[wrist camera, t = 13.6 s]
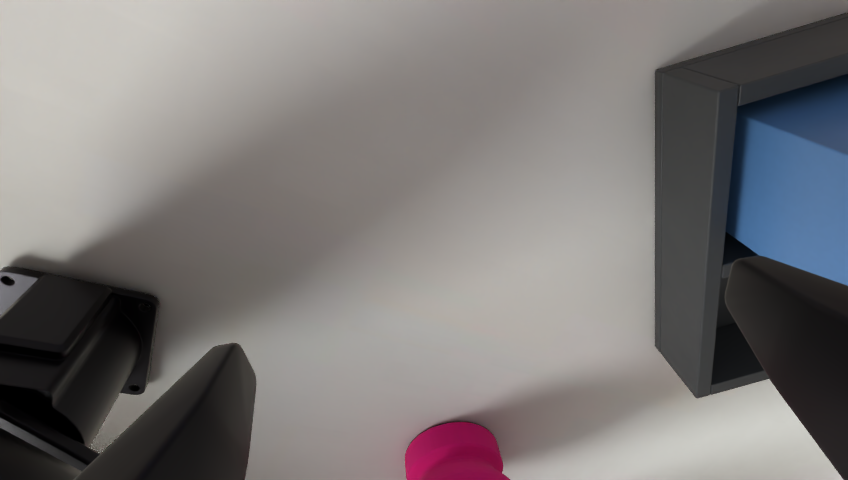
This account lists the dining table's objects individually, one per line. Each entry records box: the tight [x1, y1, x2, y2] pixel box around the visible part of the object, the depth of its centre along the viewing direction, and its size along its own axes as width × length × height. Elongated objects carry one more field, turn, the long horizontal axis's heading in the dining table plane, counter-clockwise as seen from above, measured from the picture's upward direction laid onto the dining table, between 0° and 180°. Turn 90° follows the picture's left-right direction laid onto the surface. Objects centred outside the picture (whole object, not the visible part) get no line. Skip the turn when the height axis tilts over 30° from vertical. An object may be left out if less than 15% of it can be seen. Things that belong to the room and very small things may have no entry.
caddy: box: [655, 13, 848, 398], centre depth 22 cm, size 9×17×4 cm, turn 15°
